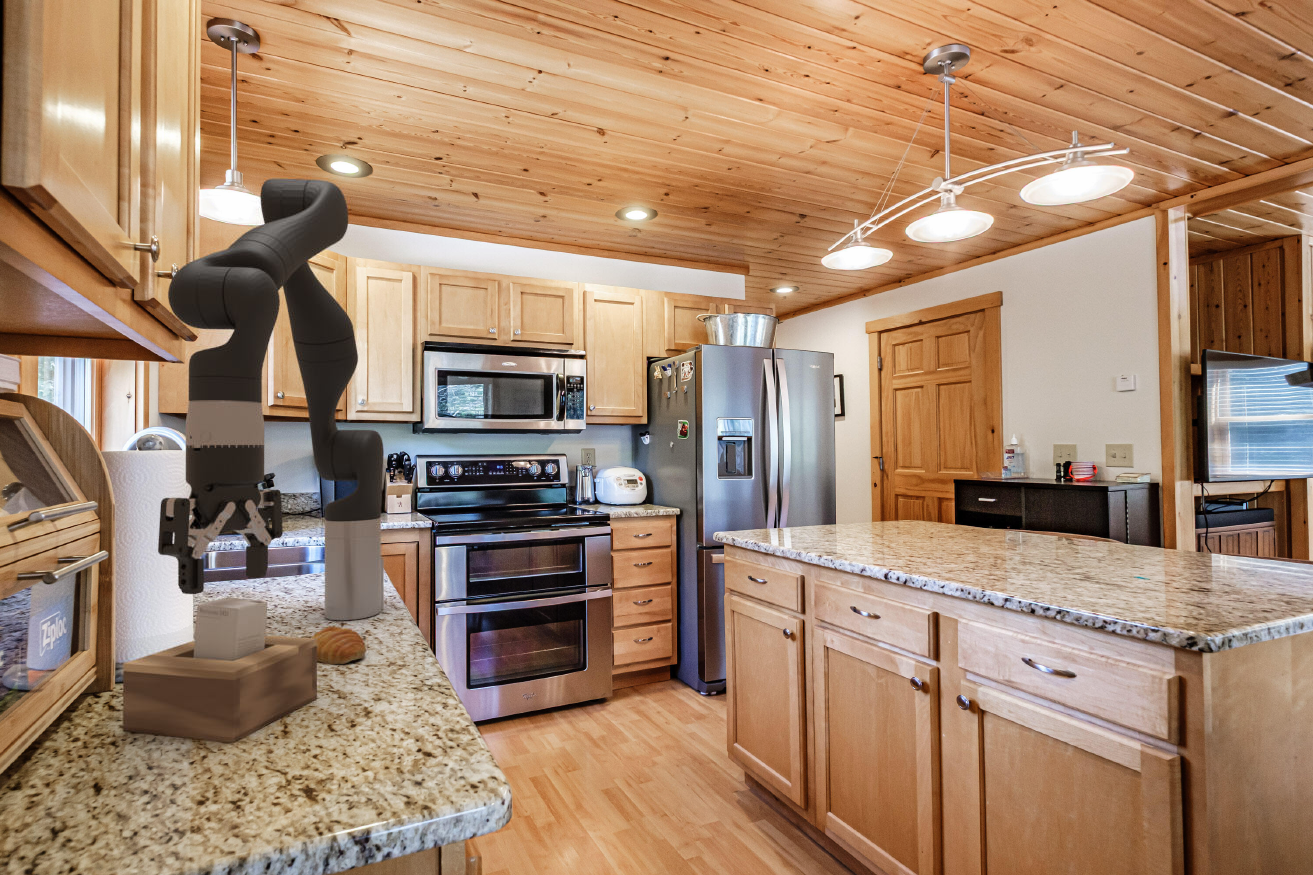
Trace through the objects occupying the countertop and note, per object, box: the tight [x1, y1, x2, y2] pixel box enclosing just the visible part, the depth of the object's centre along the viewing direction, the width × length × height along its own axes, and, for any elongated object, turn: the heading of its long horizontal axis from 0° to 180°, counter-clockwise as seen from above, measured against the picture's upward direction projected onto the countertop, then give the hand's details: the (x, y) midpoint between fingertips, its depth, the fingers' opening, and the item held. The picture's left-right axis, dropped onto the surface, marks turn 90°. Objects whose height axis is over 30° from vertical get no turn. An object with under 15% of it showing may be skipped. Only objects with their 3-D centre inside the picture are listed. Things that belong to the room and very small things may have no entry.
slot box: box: [122, 634, 318, 744], centre depth 75 cm, size 12×14×7 cm
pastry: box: [311, 626, 367, 665], centre depth 96 cm, size 9×7×4 cm
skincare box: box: [193, 596, 269, 661], centre depth 75 cm, size 6×4×12 cm
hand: (225, 584), depth 75 cm, fingers open, 8 cm apart
